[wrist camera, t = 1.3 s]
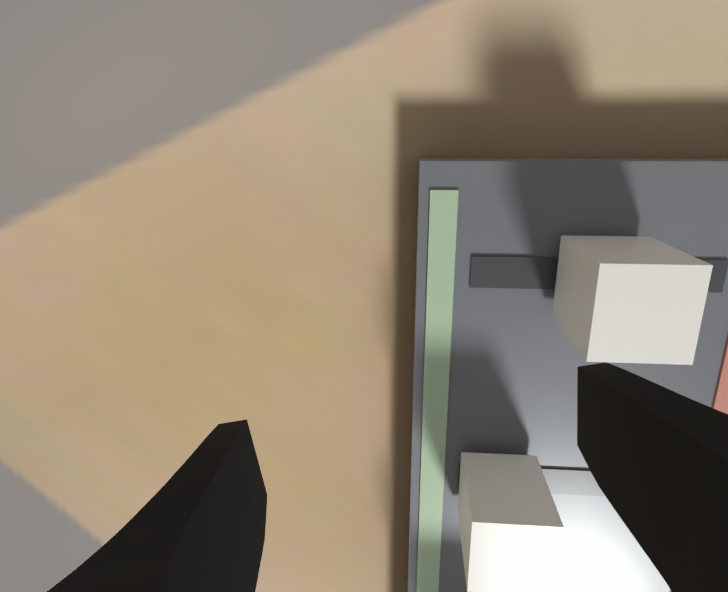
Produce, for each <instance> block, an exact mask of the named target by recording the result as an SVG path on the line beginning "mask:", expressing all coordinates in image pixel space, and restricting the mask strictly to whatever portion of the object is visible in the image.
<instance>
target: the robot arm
mask: <svg viewBox="0 0 728 592" xmlns="http://www.w3.org/2000/svg"><path fill="white" fill-rule="evenodd" d="M577 445H578V447H579V449H580V451H581V453H582V455H583V457H584V459H585V461H586V463H587V465H588V467H589V469H590V471H591V473H592V475H593V477H594V478H595V480H596V482H597V484H598V486H599V487H600V489H601V490H602V492H603V493H604V495H605V496H606V498H607V499H608V500H609V502H610V503H611V505H612V506H613V508H614V509H615V511H616V512H617V513H618V515H619V516H620V518H621V519H622V521H623V522H624V523H625V525H626V526H627V528H628V529H629V531H630V532H631V533H632V535H633V536H634V538H635V539H636V540H637V542H638V543H639V545H640V546H641V547H642V549H643V550H644V552H645V553H646V555H647V556H648V557H649V559H650V560H651V562H652V563H653V564H654V566H655V567H656V569H657V570H658V572H659V573H660V574H661V576H662V577H663V579H664V580H665V582H666V583H667V585H668V586H669V588H670V589H671V591H672V592H728V414H726V413H723V412H721V411H718V410H716V409H714V408H711V407H709V406H706V405H704V404H702V403H699V402H697V401H695V400H692V399H690V398H688V397H685V396H683V395H681V394H678V393H676V392H674V391H672V390H669V389H667V388H665V387H663V386H661V385H658V384H656V383H654V382H652V381H649V380H647V379H645V378H643V377H640V376H638V375H636V374H634V373H631V372H629V371H627V370H624V369H622V368H620V367H617V366H615V365H612V364H609V363H606V362H604V363H598V364H592V365H586V366H579V367H578V372H577ZM266 505H267V493H266V489H265V485H264V482H263V478H262V474H261V471H260V467H259V463H258V460H257V456H256V452H255V449H254V445H253V441H252V437H251V434H250V430H249V426H248V423H247V420H242V421H235V422H229V423H223V424H218V426H217V427H216V428H215V429H214V430H213V431H212V432H211V433H210V434H209V435H208V436H207V438H206V439H205V440H204V441H203V442H202V443H201V444H200V446H199V447H198V448H197V449H196V450H195V451H194V453H193V454H192V455H191V456H190V457H189V458H188V459H187V461H186V462H185V463H184V464H183V465H182V466H181V467H180V468H179V470H178V471H177V472H176V473H175V474H174V475H173V476H172V477H171V479H170V480H169V481H168V482H167V483H166V484H165V485H164V486H163V487H162V488H161V489H160V491H159V492H158V493H157V494H156V495H155V496H154V497H153V498H152V499H151V500H150V501H149V502H148V503H147V504H146V505H145V506H144V507H143V508H142V509H141V510H140V511H139V512H138V513H137V514H136V515H135V516H134V517H133V518H132V519H131V520H130V521H129V522H128V523H127V524H126V525H125V526H124V527H123V528H122V529H121V530H120V531H119V532H118V533H117V534H116V535H115V536H113V537H112V538H111V539H110V540H109V541H108V542H107V543H106V544H105V545H104V546H102V547H101V548H100V549H99V550H98V551H97V552H95V553H94V554H93V555H92V556H91V557H90V558H89V559H87V560H86V561H85V562H84V563H83V564H82V565H81V566H79V567H78V568H77V569H76V570H74V571H73V572H72V573H71V574H69V575H68V576H67V577H66V578H64V579H63V580H62V581H61V582H59V583H58V584H56V585H55V586H54V587H53V588H51V589H50V590H49V591H47V592H255V589H256V584H257V578H258V573H259V567H260V562H261V556H262V551H263V545H264V538H265V524H266Z"/></svg>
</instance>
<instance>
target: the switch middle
mask: <svg viewBox="0 0 728 592" xmlns="http://www.w3.org/2000/svg"><path fill="white" fill-rule="evenodd" d="M458 521H459V529H460V537H461V545H462V554H463V562H464V570H465V578H466V586H467V592H555V588H556V581H557V573H558V566H559V559H560V552H561V544H562V537H563V530H564V526H563V524H562V521H561V518H560V516H559V513H558V511H557V508H556V505H555V503H554V500H553V498H552V495H551V492H550V490H549V487H548V485H547V482H546V479H545V477H544V474H543V471H542V469H541V466H540V464H539V461H538V458H537V456H535V455H513V454H491V453H469V452H461V464H460V480H459V497H458Z"/></svg>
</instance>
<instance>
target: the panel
mask: <svg viewBox="0 0 728 592" xmlns="http://www.w3.org/2000/svg"><path fill="white" fill-rule="evenodd" d="M561 235H571V236H650V237H652V238H654V239H657V240H659V241H661V242H663V243H665V244H668V245H670V246H672V247H674V248H676V249H678V250H681V251H683V252H685V253H687V254H689V255H692V256H694V257H696V258H698V259H700V260H703V261H705V262H707V263H709V264H711V265H713V268H712V273H711V278H710V282H709V287H708V292H707V297H706V302H705V307H704V312H703V317H702V321H701V326H700V331H699V336H698V341H697V346H696V351H695V355H694V360H693V365H676V364H643V363H611V362H606V363H609V364H612V365H615V366H617V367H620V368H622V369H624V370H627V371H629V372H631V373H634V374H636V375H638V376H640V377H643V378H645V379H647V380H649V381H652V382H654V383H656V384H658V385H661V386H663V387H665V388H667V389H669V390H672V391H674V392H676V393H678V394H681V395H683V396H685V397H688V398H690V399H692V400H695V401H697V402H699V403H702V404H704V405H706V406H709V407H711V408H714V409H716V410H718V411H721V412H723V413H726V414H728V158H419V171H418V208H417V245H416V282H415V320H414V357H413V394H412V432H411V469H410V506H409V543H408V581H407V592H467V586H466V578H465V570H464V562H463V554H462V545H461V537H460V529H459V521H458V497H459V480H460V464H461V452H469V453H491V454H513V455H535V456H537V458H538V461H539V464H540V466H541V469H542V471H543V474H544V477H545V479H546V482H547V485H548V487H549V490H550V492H551V495H552V498H553V500H554V503H555V505H556V508H557V511H558V513H559V516H560V518H561V521H562V524H563V526H564V530H563V537H562V544H561V552H560V559H559V566H558V573H557V581H556V588H555V592H672V591H671V589H670V588H669V586H668V585H667V583H666V582H665V580H664V579H663V577H662V576H661V574H660V573H659V572H658V570H657V569H656V567H655V566H654V564H653V563H652V562H651V560H650V559H649V557H648V556H647V555H646V553H645V552H644V550H643V549H642V547H641V546H640V545H639V543H638V542H637V540H636V539H635V538H634V536H633V535H632V533H631V532H630V531H629V529H628V528H627V526H626V525H625V523H624V522H623V521H622V519H621V518H620V516H619V515H618V513H617V512H616V511H615V509H614V508H613V506H612V505H611V503H610V502H609V500H608V499H607V498H606V496H605V495H604V493H603V492H602V490H601V489H600V487H599V486H598V484H597V482H596V480H595V478H594V477H593V475H592V473H591V471H590V469H589V467H588V465H587V463H586V461H585V459H584V457H583V455H582V453H581V451H580V449H579V447H578V445H577V372H578V367H579V366H586V365H592V364H598V363H604V362H586V360H585V359H584V358H583V356H582V355H581V354H580V352H579V351H578V350H577V348H576V347H575V346H574V344H573V343H572V342H571V340H570V339H569V338H568V336H567V335H566V334H565V332H564V331H563V330H562V328H561V327H560V326H559V324H558V323H557V322H556V320H555V319H554V318H553V316H552V312H553V303H554V294H555V285H556V276H557V267H558V258H559V249H560V240H561Z"/></svg>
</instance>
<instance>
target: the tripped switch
mask: <svg viewBox="0 0 728 592" xmlns="http://www.w3.org/2000/svg"><path fill="white" fill-rule="evenodd" d="M712 268H713V265H711V264H709V263H707V262H705V261H703V260H700V259H698V258H696V257H694V256H692V255H689V254H687V253H685V252H683V251H681V250H678V249H676V248H674V247H672V246H670V245H668V244H665V243H663V242H661V241H659V240H657V239H654V238H652V237H650V236H571V235H561V240H560V249H559V258H558V267H557V276H556V285H555V294H554V303H553V312H552V316H553V318H554V319H555V320H556V322H557V323H558V324H559V326H560V327H561V328H562V330H563V331H564V332H565V334H566V335H567V336H568V338H569V339H570V340H571V342H572V343H573V344H574V346H575V347H576V348H577V350H578V351H579V352H580V354H581V355H582V356H583V358H584V359H585V360H586V362H611V363H643V364H676V365H693V360H694V355H695V351H696V346H697V341H698V336H699V331H700V326H701V321H702V317H703V312H704V307H705V302H706V297H707V292H708V287H709V282H710V278H711V273H712Z"/></svg>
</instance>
